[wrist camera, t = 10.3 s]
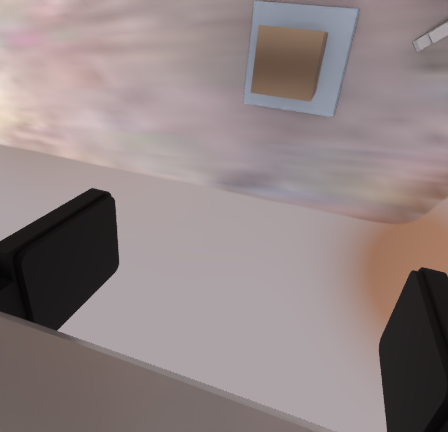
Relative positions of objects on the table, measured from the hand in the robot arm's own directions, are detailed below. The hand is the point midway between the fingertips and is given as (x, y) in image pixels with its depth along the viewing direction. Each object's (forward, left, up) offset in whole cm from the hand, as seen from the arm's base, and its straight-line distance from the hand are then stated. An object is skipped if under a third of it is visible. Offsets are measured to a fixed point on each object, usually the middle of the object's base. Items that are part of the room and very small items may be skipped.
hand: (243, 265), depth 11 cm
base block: (-4, -3, -30) cm, 30 cm away
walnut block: (-4, -3, -27) cm, 27 cm away
